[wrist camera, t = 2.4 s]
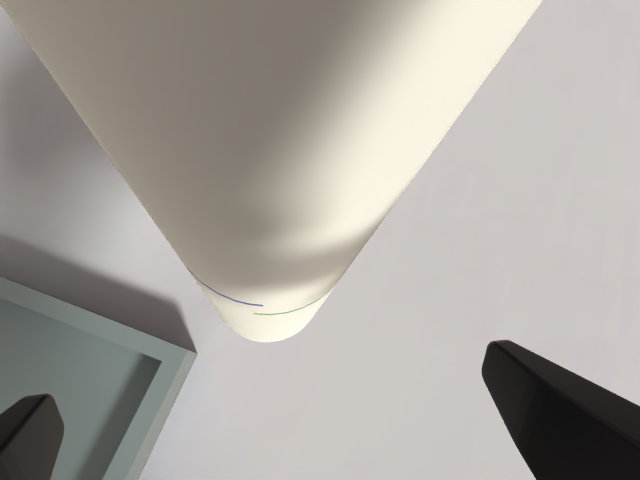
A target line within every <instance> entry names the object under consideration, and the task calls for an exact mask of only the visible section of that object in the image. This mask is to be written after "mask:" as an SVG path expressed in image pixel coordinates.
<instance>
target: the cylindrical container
mask: <svg viewBox="0 0 640 480" xmlns="http://www.w3.org/2000/svg"><path fill="white" fill-rule="evenodd" d="M541 2H542V0H0V4H1V5H2V6H3V8H4V9H5V11H6V12H7V14H8V15H9V16H10V18H11V19H12V21H13V22H14V23H15V25H16V26H17V28H18V29H19V31H20V32H21V33H22V35H23V36H24V38H25V39H26V41H27V42H28V43H29V45H30V46H31V48H32V49H33V50H34V52H35V53H36V55H37V56H38V58H39V59H40V60H41V62H42V63H43V65H44V66H45V67H46V69H47V70H48V72H49V73H50V75H51V76H52V77H53V79H54V80H55V82H56V83H57V84H58V86H59V87H60V89H61V90H62V92H63V93H64V94H65V96H66V97H67V99H68V100H69V101H70V103H71V104H72V106H73V107H74V109H75V110H76V111H77V113H78V114H79V116H80V117H81V119H82V120H83V121H84V123H85V124H86V126H87V127H88V128H89V130H90V131H91V133H92V134H93V136H94V137H95V138H96V140H97V141H98V143H99V144H100V145H101V147H102V148H103V150H104V151H105V153H106V154H107V155H108V157H109V158H110V160H111V161H112V162H113V164H114V165H115V167H116V168H117V170H118V171H119V172H120V174H121V175H122V177H123V178H124V180H125V181H126V182H127V184H128V185H129V187H130V188H131V189H132V191H133V192H134V194H135V195H136V197H137V198H138V199H139V201H140V202H141V204H142V205H143V206H144V208H145V209H146V211H147V212H148V214H149V215H150V216H151V218H152V219H153V221H154V222H155V224H156V225H157V226H158V228H159V229H160V231H161V232H162V233H163V235H164V236H165V238H166V239H167V241H168V242H169V243H170V245H171V246H172V248H173V249H174V250H175V252H176V253H177V255H178V256H179V258H180V259H181V260H182V262H183V263H184V265H185V266H186V267H187V269H188V270H189V272H190V273H191V275H192V276H193V277H194V279H195V280H196V282H197V283H198V285H199V286H200V287H201V289H202V290H203V292H204V293H205V294H206V296H207V297H208V299H209V300H210V302H211V303H212V304H213V306H214V307H215V309H216V310H217V311H218V313H219V314H220V316H221V317H222V319H223V320H224V321H225V323H226V324H227V325H228V326H229V327H230V328H231V329H232V330H233V331H235V332H236V333H238V334H239V335H241V336H242V337H245V338H247V339H250V340H253V341H258V342H274V341H280V340H283V339H286V338H288V337H291V336H293V335H294V334H296V333H297V332H299V331H300V330H301V329H303V328H304V327H305V325H306V324H307V323H308V322H309V321H310V320H311V318H312V317H313V316H314V314H315V313H316V312H317V310H318V309H319V307H320V306H321V305H322V303H323V302H324V301H325V299H326V298H327V296H328V295H329V294H330V292H331V291H332V290H333V288H334V287H335V285H336V284H337V283H338V281H339V280H340V278H341V277H342V276H343V274H344V273H345V272H346V270H347V269H348V267H349V266H350V265H351V263H352V262H353V261H354V259H355V258H356V256H357V255H358V254H359V252H360V251H361V250H362V248H363V247H364V245H365V244H366V243H367V241H368V240H369V239H370V237H371V236H372V234H373V233H374V232H375V230H376V229H377V228H378V226H379V225H380V223H381V222H382V221H383V219H384V218H385V216H386V215H387V214H388V212H389V211H390V210H391V208H392V207H393V205H394V204H395V203H396V201H397V200H398V199H399V197H400V196H401V194H402V193H403V192H404V190H405V189H406V188H407V186H408V185H409V183H410V182H411V181H412V179H413V178H414V177H415V175H416V174H417V172H418V171H419V170H420V168H421V167H422V166H423V164H424V163H425V161H426V160H427V159H428V157H429V156H430V154H431V153H432V152H433V150H434V149H435V148H436V146H437V145H438V143H439V142H440V141H441V139H442V138H443V137H444V135H445V134H446V132H447V131H448V130H449V128H450V127H451V126H452V124H453V123H454V121H455V120H456V119H457V117H458V116H459V115H460V113H461V112H462V110H463V109H464V108H465V106H466V105H467V104H468V102H469V101H470V99H471V98H472V97H473V95H474V94H475V92H476V91H477V90H478V88H479V87H480V86H481V84H482V83H483V81H484V80H485V79H486V77H487V76H488V75H489V73H490V72H491V70H492V69H493V68H494V66H495V65H496V64H497V62H498V61H499V59H500V58H501V57H502V55H503V54H504V53H505V51H506V50H507V48H508V47H509V46H510V44H511V43H512V42H513V40H514V39H515V37H516V36H517V35H518V33H519V32H520V30H521V29H522V28H523V26H524V25H525V24H526V22H527V21H528V19H529V18H530V17H531V15H532V14H533V13H534V11H535V10H536V8H537V7H538V6H539V4H540V3H541Z"/></svg>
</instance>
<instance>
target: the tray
mask: <svg viewBox="0 0 640 480" xmlns="http://www.w3.org/2000/svg"><path fill="white" fill-rule="evenodd" d="M196 356H197V353H194V352H192V351H189V350H187V349H184V348H182V347H179V346H177V345H174V344H171V343H169V342H166V341H164V340H161V339H159V338H156V337H154V336H151V335H149V334H146V333H143V332H141V331H138V330H136V329H133V328H131V327H128V326H126V325H123V324H120V323H118V322H115V321H113V320H110V319H108V318H105V317H103V316H100V315H98V314H95V313H92V312H90V311H87V310H85V309H82V308H80V307H77V306H75V305H72V304H69V303H67V302H64V301H62V300H59V299H57V298H54V297H52V296H49V295H47V294H44V293H41V292H39V291H36V290H34V289H31V288H29V287H26V286H24V285H21V284H18V283H16V282H13V281H11V280H8V279H6V278H3V277H1V276H0V414H1V413H2V412H4V411H5V410H6V409H8V408H9V407H10V406H12V405H13V404H14V403H16V402H17V401H18V400H20V399H21V398H23V397H25V396H29V395H37V394H46V393H47V394H51V395H52V396H53V397H54V399H55V401H56V404H57V407H58V409H59V412H60V414H61V417H62V419H63V422H64V436H63V440H62V443H61V446H60V450H59V453H58V456H57V460H56V463H55V466H54V470H53V473H52V476H51V479H50V480H138V478H139V476H140V474H141V472H142V469H143V467H144V465H145V463H146V461H147V459H148V457H149V455H150V453H151V450H152V448H153V446H154V444H155V442H156V440H157V438H158V436H159V434H160V432H161V429H162V427H163V425H164V423H165V421H166V419H167V417H168V415H169V413H170V410H171V408H172V406H173V404H174V402H175V400H176V398H177V396H178V394H179V391H180V389H181V387H182V385H183V383H184V381H185V379H186V377H187V375H188V372H189V370H190V368H191V366H192V364H193V362H194V360H195V358H196Z"/></svg>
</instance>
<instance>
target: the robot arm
mask: <svg viewBox="0 0 640 480" xmlns="http://www.w3.org/2000/svg"><path fill="white" fill-rule="evenodd" d="M482 377H483V380H484V382H485V384H486V386H487V388H488V390H489V392H490V394H491V396H492V398H493V400H494V402H495V405H496V407H497V409H498V411H499V413H500V415H501V417H502V419H503V421H504V423H505V425H506V427H507V429H508V431H509V433H510V435H511V437H512V439H513V441H514V443H515V445H516V446H517V448H518V450H519V452H520V453H521V455H522V457H523V458H524V460H525V462H526V463H527V465H528V467H529V468H530V470H531V472H532V473H533V475H534V477H535V478H536V480H640V406H638V405H636V404H634V403H632V402H630V401H628V400H626V399H624V398H622V397H620V396H618V395H616V394H614V393H612V392H610V391H609V390H607V389H605V388H603V387H601V386H599V385H597V384H595V383H593V382H591V381H589V380H587V379H585V378H583V377H581V376H579V375H577V374H575V373H573V372H571V371H569V370H567V369H565V368H563V367H561V366H559V365H557V364H555V363H553V362H551V361H549V360H547V359H545V358H543V357H541V356H539V355H537V354H535V353H533V352H531V351H529V350H527V349H525V348H523V347H521V346H519V345H518V344H516V343H514V342H512V341H509V340H499V341H492V342H490V343H489V344H488V346H487V350H486V353H485V357H484V361H483V365H482ZM63 436H64V422H63V419H62V417H61V414H60V412H59V409H58V407H57V404H56V401H55V399H54V397H53V396H52V395H51V394H47V393H46V394H37V395H29V396H25V397H23V398H21V399H20V400H18V401H17V402H16V403H14V404H13V405H12V406H10V407H9V408H8V409H6V410H5V411H4V412H2V413H1V414H0V480H50V479H51V476H52V473H53V470H54V466H55V463H56V460H57V456H58V453H59V450H60V446H61V443H62V440H63Z"/></svg>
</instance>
